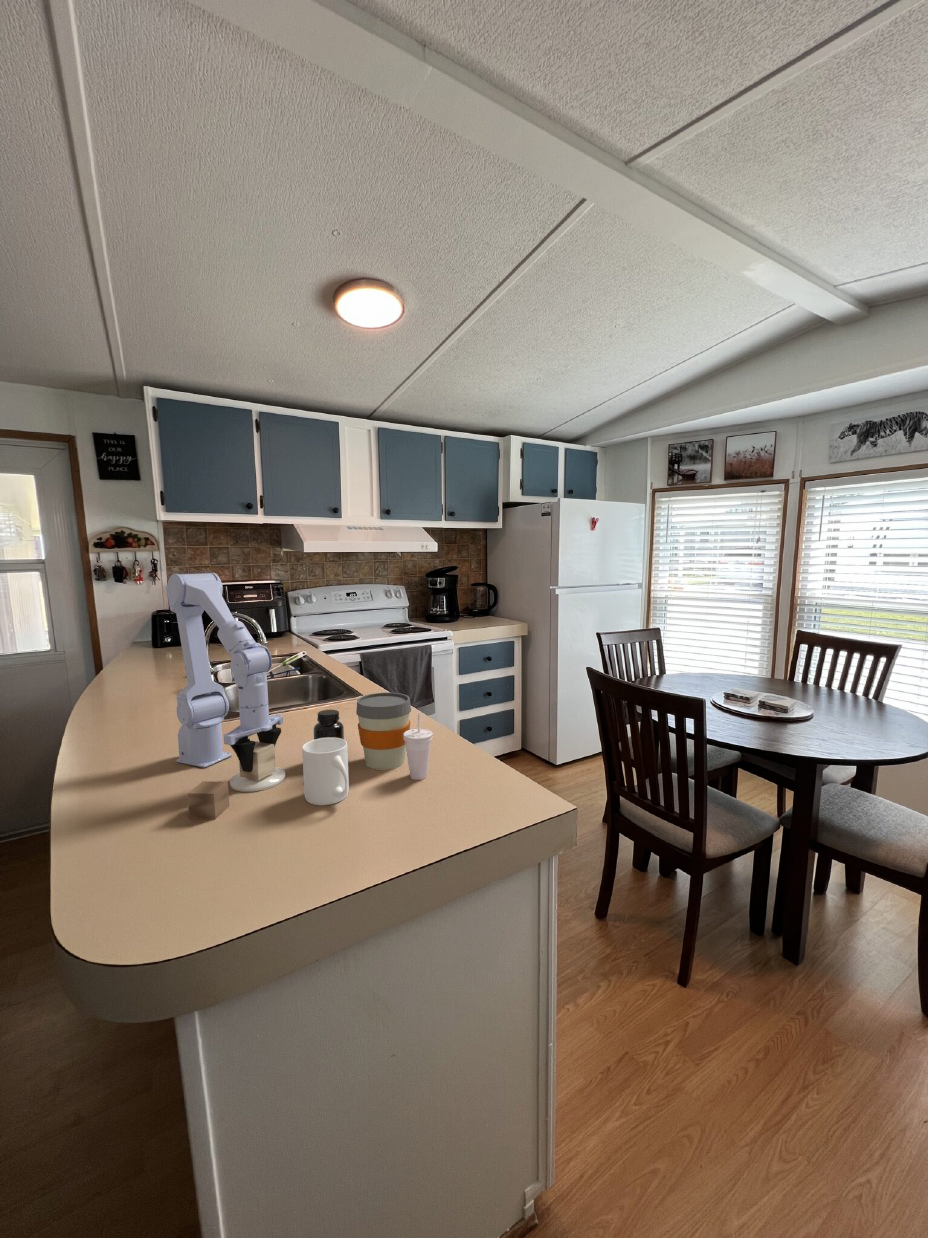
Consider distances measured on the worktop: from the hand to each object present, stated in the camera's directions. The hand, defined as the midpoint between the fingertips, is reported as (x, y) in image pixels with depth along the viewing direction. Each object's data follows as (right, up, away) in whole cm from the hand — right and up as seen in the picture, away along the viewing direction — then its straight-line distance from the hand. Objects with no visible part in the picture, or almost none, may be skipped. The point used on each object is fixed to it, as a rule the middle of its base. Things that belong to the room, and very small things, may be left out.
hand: (257, 766), depth 109 cm
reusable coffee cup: (+26, -2, +10) cm, 28 cm away
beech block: (0, -2, 0) cm, 2 cm away
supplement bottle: (+13, -2, +10) cm, 16 cm away
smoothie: (+34, -3, +2) cm, 35 cm away
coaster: (0, -3, 0) cm, 3 cm away
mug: (+18, -4, -8) cm, 20 cm away
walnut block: (-4, -5, -13) cm, 15 cm away
